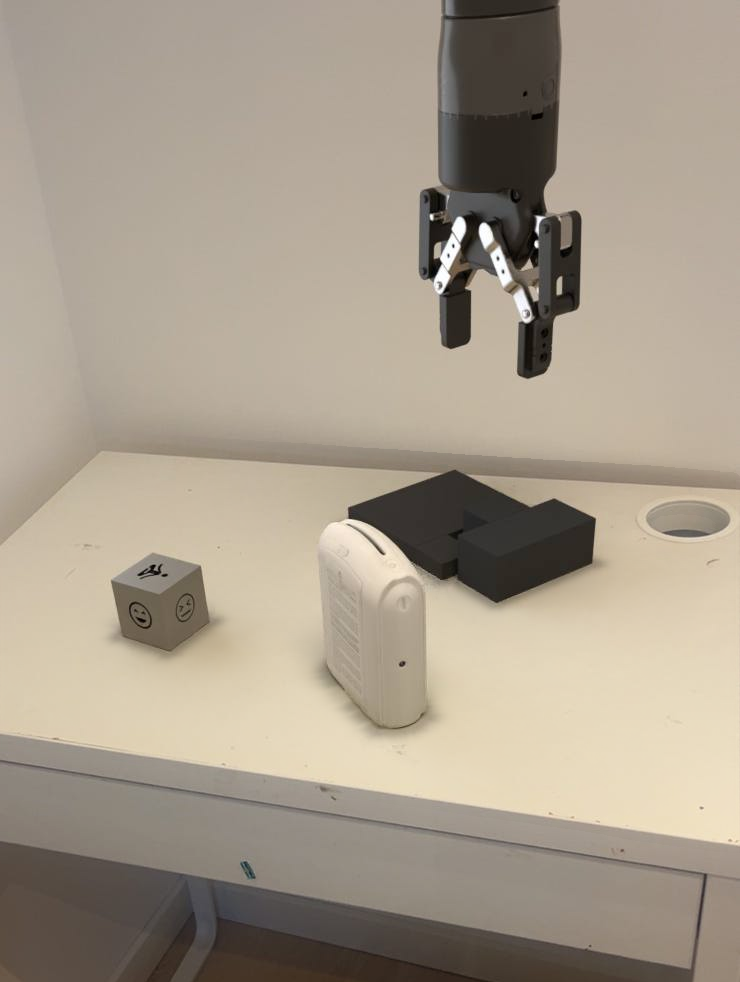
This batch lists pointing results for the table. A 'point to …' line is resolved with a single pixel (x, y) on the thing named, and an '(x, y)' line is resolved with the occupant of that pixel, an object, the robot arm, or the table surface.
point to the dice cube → (160, 601)
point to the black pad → (427, 518)
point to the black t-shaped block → (521, 545)
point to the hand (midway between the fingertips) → (493, 360)
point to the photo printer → (373, 622)
